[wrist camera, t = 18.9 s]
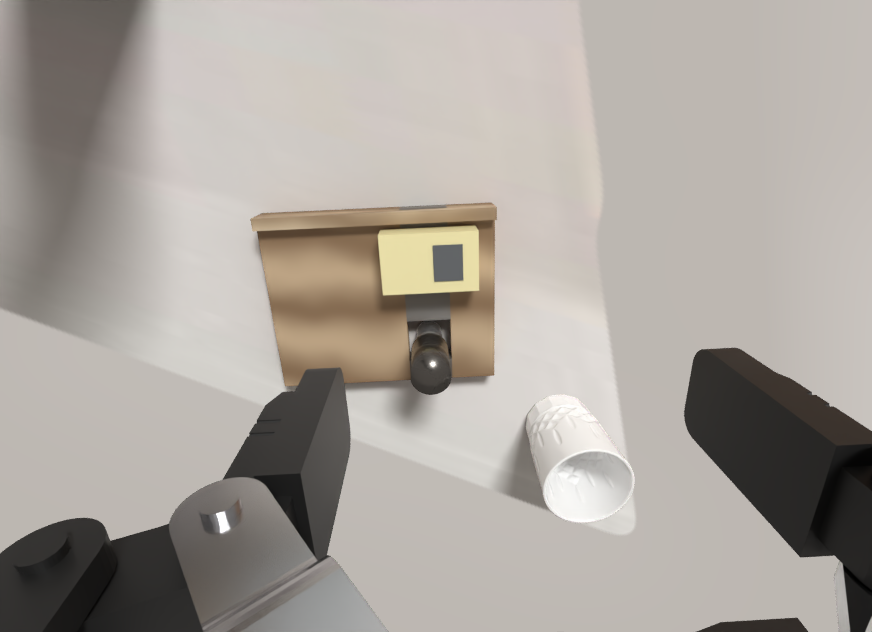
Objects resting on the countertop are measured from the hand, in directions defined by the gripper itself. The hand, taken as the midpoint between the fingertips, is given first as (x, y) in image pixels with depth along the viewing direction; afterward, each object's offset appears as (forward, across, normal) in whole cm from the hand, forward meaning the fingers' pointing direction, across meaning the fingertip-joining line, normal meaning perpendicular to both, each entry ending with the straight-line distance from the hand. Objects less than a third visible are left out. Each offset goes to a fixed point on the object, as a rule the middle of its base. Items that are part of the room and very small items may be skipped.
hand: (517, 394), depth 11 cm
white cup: (+32, -11, +23) cm, 41 cm away
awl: (+32, +2, +12) cm, 34 cm away
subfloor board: (+32, +6, +8) cm, 34 cm away
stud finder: (+30, +2, +4) cm, 30 cm away
